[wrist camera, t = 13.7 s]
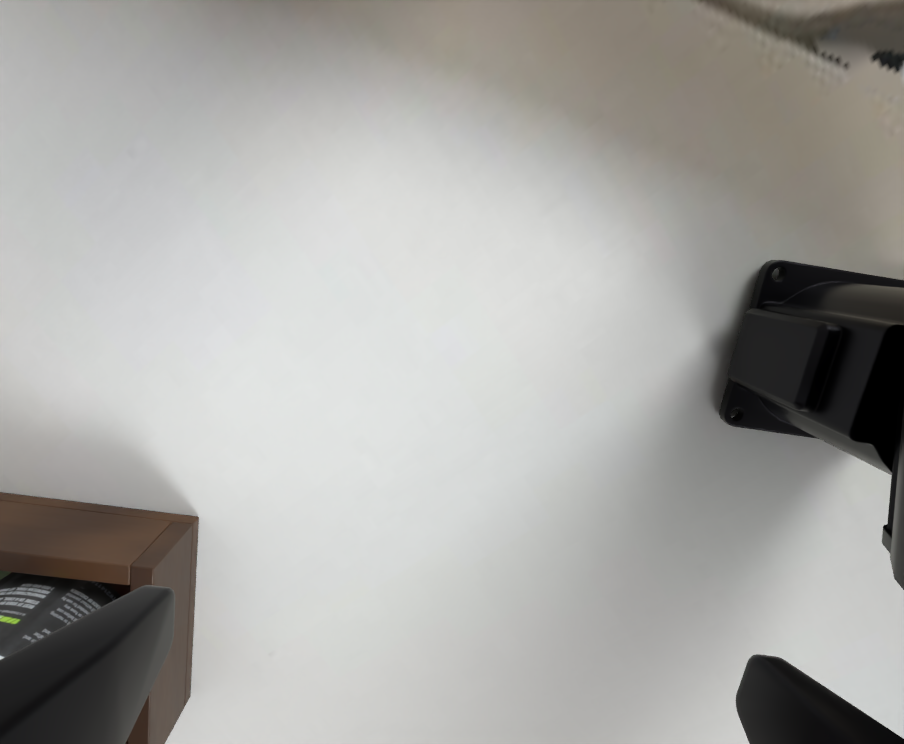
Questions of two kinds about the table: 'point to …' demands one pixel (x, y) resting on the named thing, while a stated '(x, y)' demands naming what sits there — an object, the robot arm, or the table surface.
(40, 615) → the supplement bottle
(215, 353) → the table surface
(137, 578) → the wooden square tray
